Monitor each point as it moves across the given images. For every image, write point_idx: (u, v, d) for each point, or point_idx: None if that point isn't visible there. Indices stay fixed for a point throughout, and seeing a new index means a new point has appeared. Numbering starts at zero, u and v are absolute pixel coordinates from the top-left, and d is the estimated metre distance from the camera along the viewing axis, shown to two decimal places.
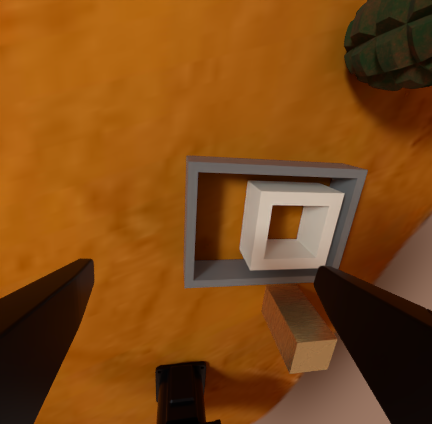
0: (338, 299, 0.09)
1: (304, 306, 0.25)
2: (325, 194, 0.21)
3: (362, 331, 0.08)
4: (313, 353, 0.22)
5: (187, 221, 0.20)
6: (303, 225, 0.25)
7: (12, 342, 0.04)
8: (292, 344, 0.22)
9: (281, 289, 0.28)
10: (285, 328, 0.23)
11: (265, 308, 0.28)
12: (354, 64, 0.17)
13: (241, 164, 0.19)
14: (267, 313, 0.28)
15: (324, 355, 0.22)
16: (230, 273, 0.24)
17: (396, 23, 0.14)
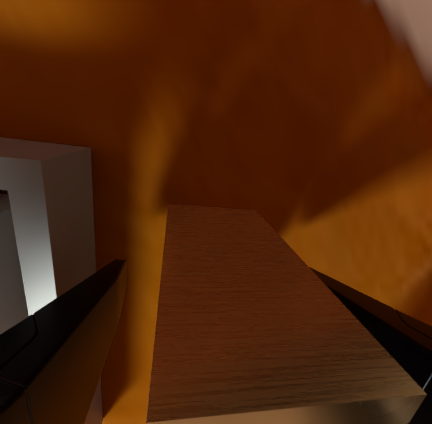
0: None
1: None
2: None
3: None
4: None
5: None
6: None
7: (76, 340, 0.05)
8: None
9: None
10: None
11: None
12: None
13: None
14: None
15: None
16: None
17: None
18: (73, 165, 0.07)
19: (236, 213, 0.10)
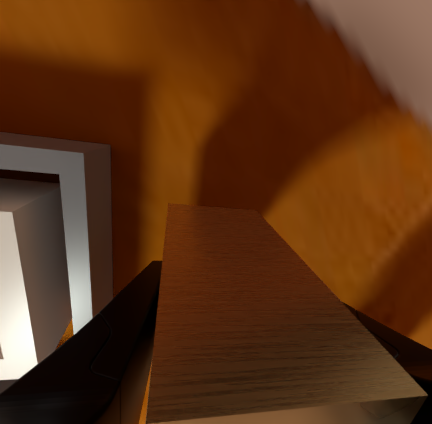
0: None
1: None
2: None
3: None
4: None
5: None
6: None
7: (142, 338, 0.05)
8: None
9: None
10: None
11: None
12: None
13: None
14: None
15: None
16: None
17: None
18: (100, 158, 0.10)
19: (236, 213, 0.10)
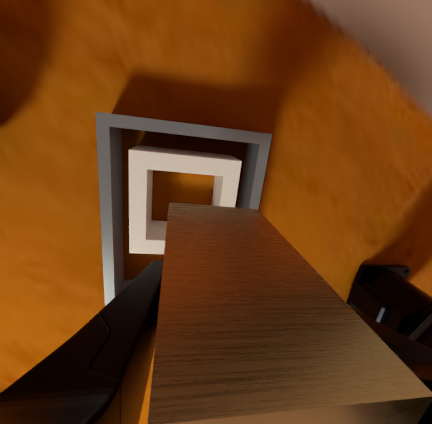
0: None
1: None
2: (130, 177, 0.16)
3: None
4: None
5: None
6: None
7: (142, 338, 0.05)
8: None
9: None
10: None
11: None
12: None
13: (104, 268, 0.19)
14: None
15: None
16: None
17: None
18: None
19: (237, 212, 0.10)
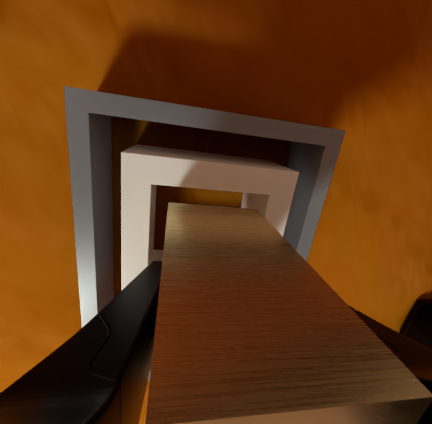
0: None
1: None
2: (124, 196, 0.10)
3: None
4: None
5: None
6: None
7: (142, 338, 0.05)
8: None
9: None
10: None
11: None
12: None
13: None
14: None
15: None
16: None
17: None
18: None
19: (237, 212, 0.10)
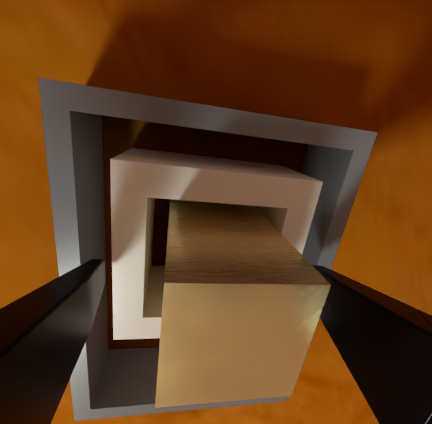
0: (329, 299, 0.09)
1: None
2: (115, 212, 0.08)
3: (353, 331, 0.08)
4: (221, 352, 0.06)
5: (173, 409, 0.13)
6: None
7: (34, 341, 0.05)
8: None
9: None
10: None
11: None
12: None
13: None
14: None
15: (246, 313, 0.06)
16: None
17: None
18: None
19: None
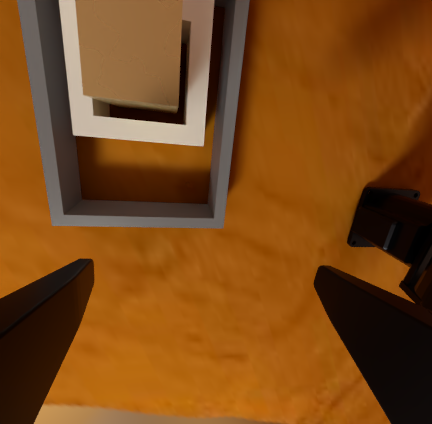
0: (338, 299, 0.09)
1: None
2: (63, 12, 0.12)
3: (362, 330, 0.08)
4: (119, 48, 0.10)
5: (130, 225, 0.17)
6: None
7: (12, 342, 0.04)
8: (112, 99, 0.11)
9: None
10: (113, 101, 0.12)
11: None
12: None
13: (44, 161, 0.15)
14: (158, 110, 0.16)
15: (130, 13, 0.09)
16: (216, 166, 0.17)
17: None
18: None
19: None
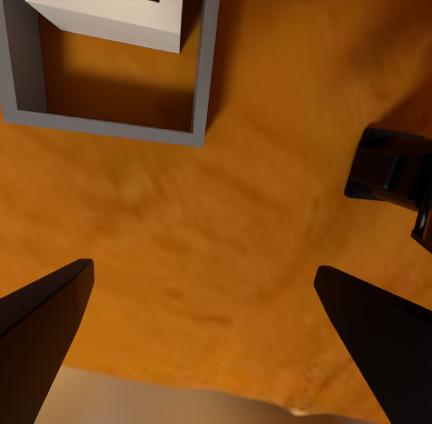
0: (338, 299, 0.09)
1: None
2: None
3: (363, 331, 0.08)
4: None
5: (96, 132, 0.15)
6: None
7: (12, 342, 0.04)
8: None
9: None
10: None
11: None
12: None
13: None
14: None
15: None
16: (197, 72, 0.15)
17: None
18: None
19: None
